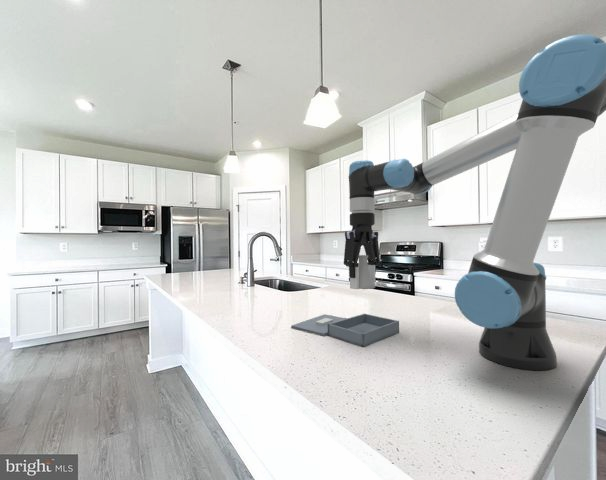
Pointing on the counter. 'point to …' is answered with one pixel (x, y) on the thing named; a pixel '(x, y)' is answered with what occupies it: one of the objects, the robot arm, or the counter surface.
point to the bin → (363, 329)
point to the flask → (364, 274)
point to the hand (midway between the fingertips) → (363, 287)
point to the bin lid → (317, 324)
